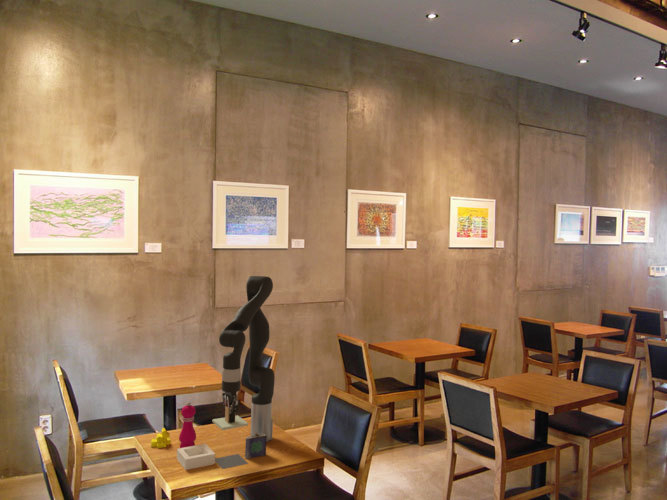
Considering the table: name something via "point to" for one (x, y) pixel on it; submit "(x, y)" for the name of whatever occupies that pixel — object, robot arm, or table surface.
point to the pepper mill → (187, 426)
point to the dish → (195, 456)
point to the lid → (225, 424)
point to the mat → (230, 461)
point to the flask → (255, 445)
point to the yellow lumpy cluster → (161, 439)
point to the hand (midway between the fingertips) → (230, 420)
